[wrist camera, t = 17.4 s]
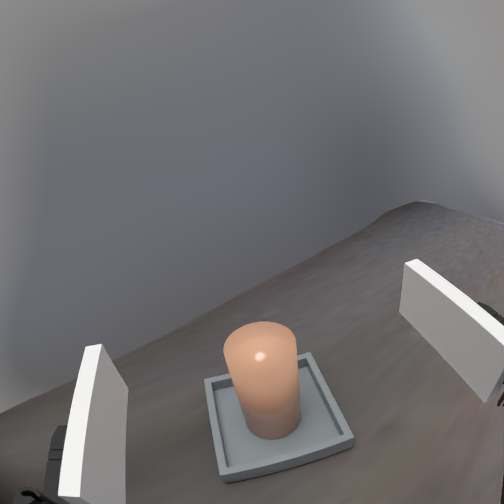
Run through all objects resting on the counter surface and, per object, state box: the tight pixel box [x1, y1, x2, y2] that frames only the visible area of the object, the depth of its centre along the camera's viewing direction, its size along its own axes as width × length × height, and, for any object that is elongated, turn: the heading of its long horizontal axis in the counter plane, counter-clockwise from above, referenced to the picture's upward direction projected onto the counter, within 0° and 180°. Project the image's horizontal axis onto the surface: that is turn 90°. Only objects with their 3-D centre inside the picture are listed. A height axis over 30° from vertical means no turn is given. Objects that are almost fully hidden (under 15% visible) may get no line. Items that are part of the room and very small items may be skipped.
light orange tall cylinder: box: [224, 322, 301, 440], centre depth 30 cm, size 6×6×12 cm
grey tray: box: [204, 352, 354, 483], centre depth 32 cm, size 14×14×2 cm
